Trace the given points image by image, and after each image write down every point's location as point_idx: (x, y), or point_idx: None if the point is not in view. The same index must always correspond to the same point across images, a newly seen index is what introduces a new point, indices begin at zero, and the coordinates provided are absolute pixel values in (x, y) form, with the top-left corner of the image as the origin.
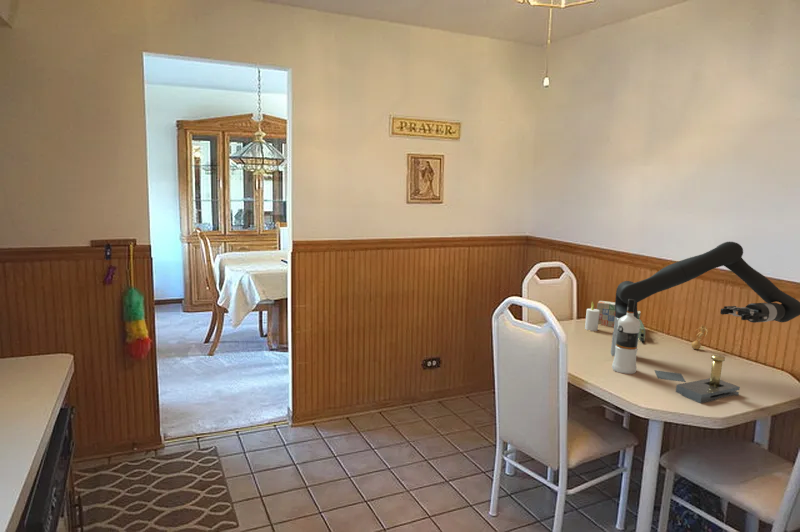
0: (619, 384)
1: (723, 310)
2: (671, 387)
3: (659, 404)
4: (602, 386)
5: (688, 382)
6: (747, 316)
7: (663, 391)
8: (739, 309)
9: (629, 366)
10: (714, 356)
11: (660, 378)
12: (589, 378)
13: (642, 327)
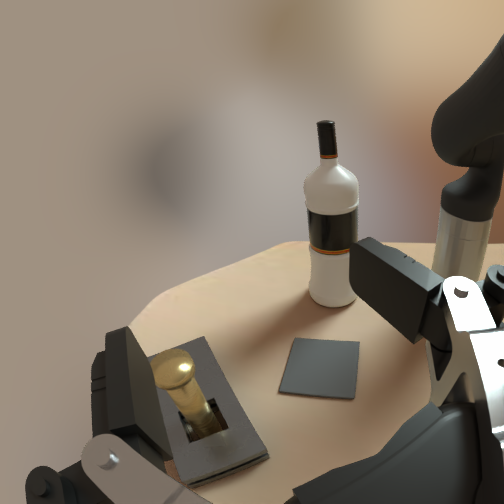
0: (251, 280)
1: (357, 259)
2: (242, 352)
3: (161, 310)
4: (239, 262)
5: (217, 363)
6: (94, 375)
7: (217, 332)
8: (480, 408)
9: (310, 281)
10: (171, 354)
11: (295, 342)
12: (274, 253)
13: None
